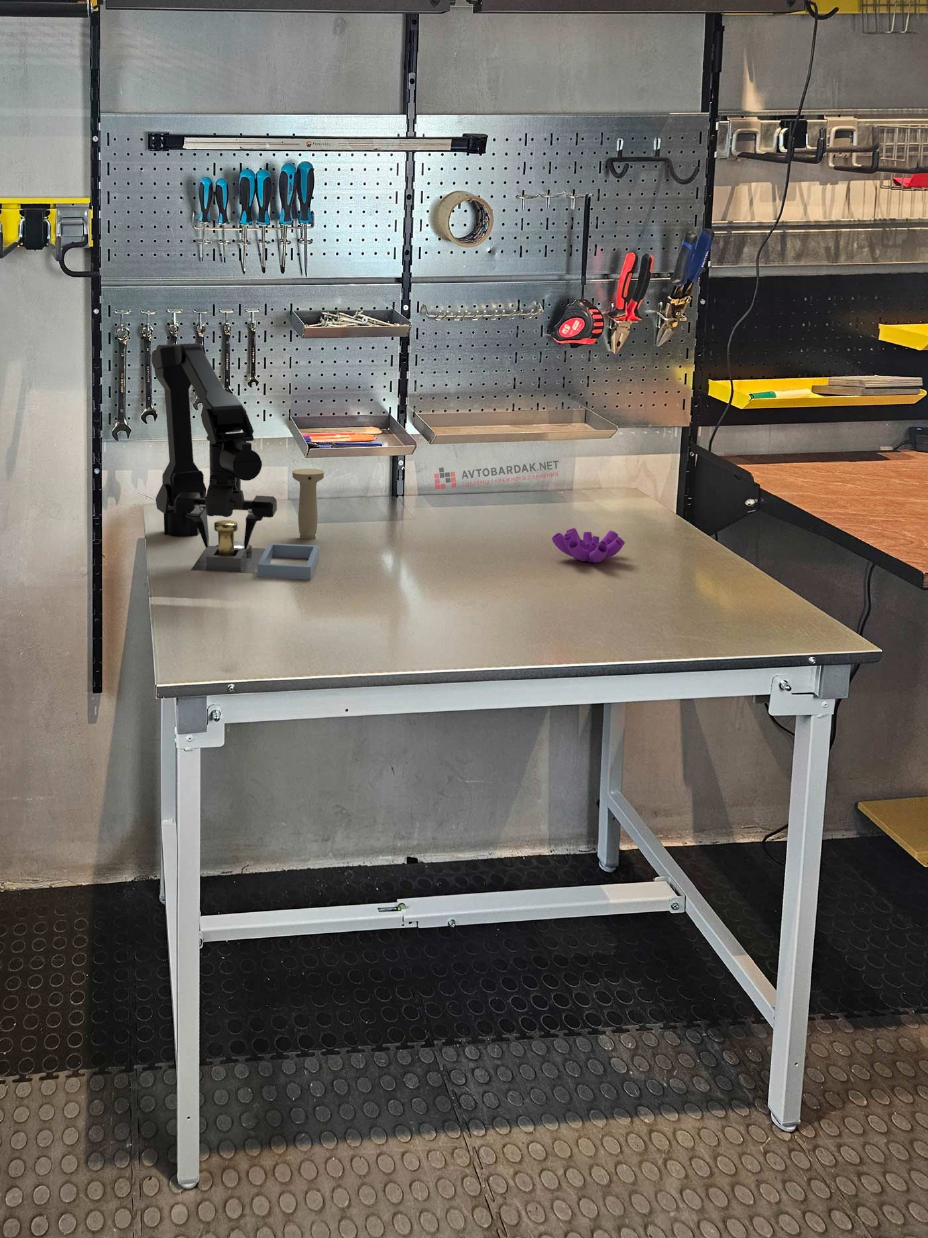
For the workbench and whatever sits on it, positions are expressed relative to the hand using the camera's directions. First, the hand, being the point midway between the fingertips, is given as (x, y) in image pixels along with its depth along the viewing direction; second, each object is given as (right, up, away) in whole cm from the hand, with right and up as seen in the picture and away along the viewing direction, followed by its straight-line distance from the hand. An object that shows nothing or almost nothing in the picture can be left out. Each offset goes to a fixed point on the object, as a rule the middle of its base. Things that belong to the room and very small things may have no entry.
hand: (226, 547), depth 251 cm
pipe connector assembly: (+71, -2, +18) cm, 73 cm away
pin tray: (+12, -5, +2) cm, 13 cm away
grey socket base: (0, -3, +5) cm, 6 cm away
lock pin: (0, -3, +1) cm, 3 cm away
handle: (+13, +2, +22) cm, 26 cm away
